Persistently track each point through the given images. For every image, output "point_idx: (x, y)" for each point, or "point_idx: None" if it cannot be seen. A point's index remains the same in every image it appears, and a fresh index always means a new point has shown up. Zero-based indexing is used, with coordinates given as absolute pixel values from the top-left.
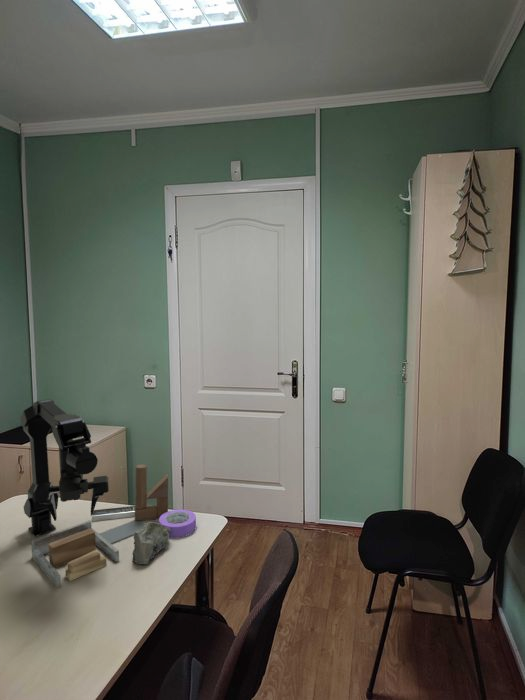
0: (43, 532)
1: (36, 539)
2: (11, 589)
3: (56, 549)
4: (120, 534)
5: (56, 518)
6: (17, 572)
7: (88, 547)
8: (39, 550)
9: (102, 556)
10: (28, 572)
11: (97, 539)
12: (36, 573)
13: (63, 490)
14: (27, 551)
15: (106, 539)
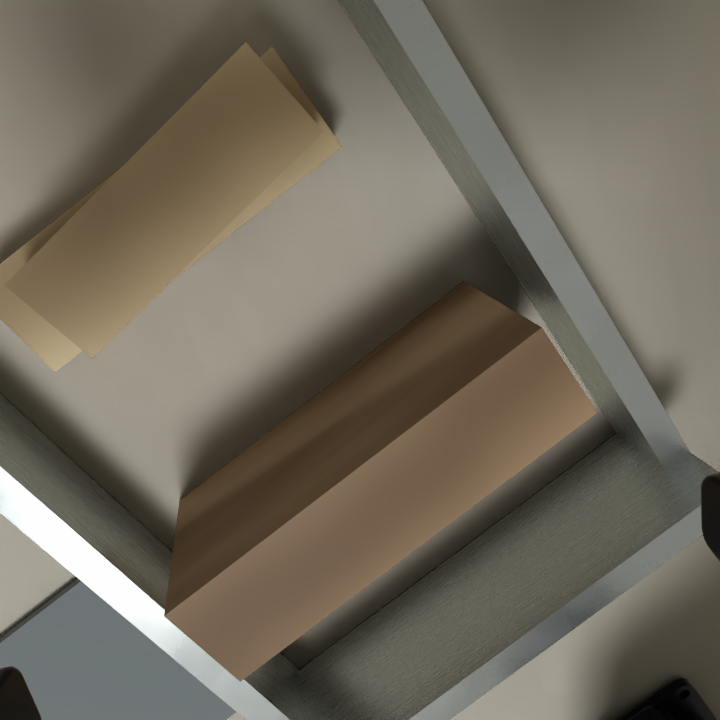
0: (641, 712)
1: None
2: (714, 19)
3: (495, 343)
4: None
5: (712, 540)
6: (713, 255)
7: (229, 491)
8: (628, 469)
9: (25, 325)
10: (637, 244)
11: None
12: (577, 222)
13: None
14: None
15: (131, 643)
